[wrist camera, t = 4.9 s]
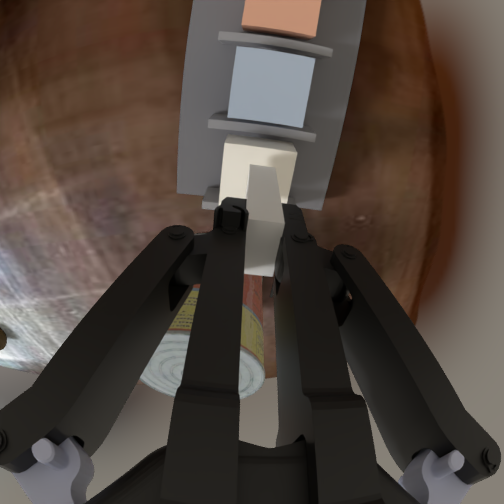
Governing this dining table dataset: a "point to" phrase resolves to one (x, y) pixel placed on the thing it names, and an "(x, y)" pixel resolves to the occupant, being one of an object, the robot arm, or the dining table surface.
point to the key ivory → (257, 153)
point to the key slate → (270, 86)
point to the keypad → (219, 126)
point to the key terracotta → (282, 17)
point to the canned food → (177, 337)
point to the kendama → (2, 339)
